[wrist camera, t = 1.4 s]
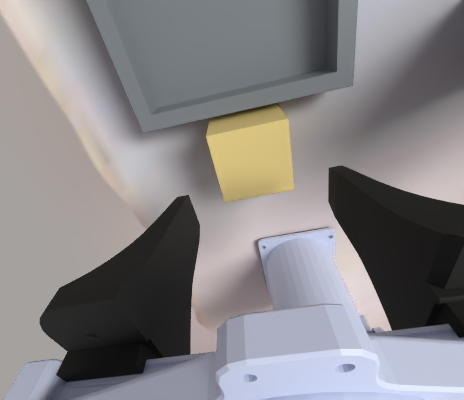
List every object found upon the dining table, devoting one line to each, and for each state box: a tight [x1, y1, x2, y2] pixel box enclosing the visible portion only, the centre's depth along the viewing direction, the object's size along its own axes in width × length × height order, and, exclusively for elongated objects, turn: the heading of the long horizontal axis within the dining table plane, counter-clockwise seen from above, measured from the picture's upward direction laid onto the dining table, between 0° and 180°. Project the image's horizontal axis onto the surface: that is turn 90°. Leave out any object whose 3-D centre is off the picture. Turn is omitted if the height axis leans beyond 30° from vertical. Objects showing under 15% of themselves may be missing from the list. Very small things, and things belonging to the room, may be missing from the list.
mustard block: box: [206, 103, 294, 202], centre depth 18 cm, size 5×5×5 cm
